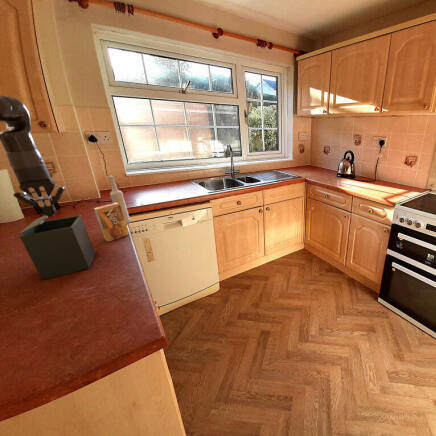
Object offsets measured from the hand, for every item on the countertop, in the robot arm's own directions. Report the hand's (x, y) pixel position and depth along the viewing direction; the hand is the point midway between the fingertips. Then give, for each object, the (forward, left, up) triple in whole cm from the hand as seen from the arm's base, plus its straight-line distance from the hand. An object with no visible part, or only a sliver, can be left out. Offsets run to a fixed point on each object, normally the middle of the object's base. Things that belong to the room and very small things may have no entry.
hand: (51, 215), depth 84 cm
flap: (-4, 0, -2) cm, 4 cm away
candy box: (+12, +19, -20) cm, 30 cm away
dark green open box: (-1, 0, -20) cm, 20 cm away
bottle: (+14, +37, -20) cm, 44 cm away
